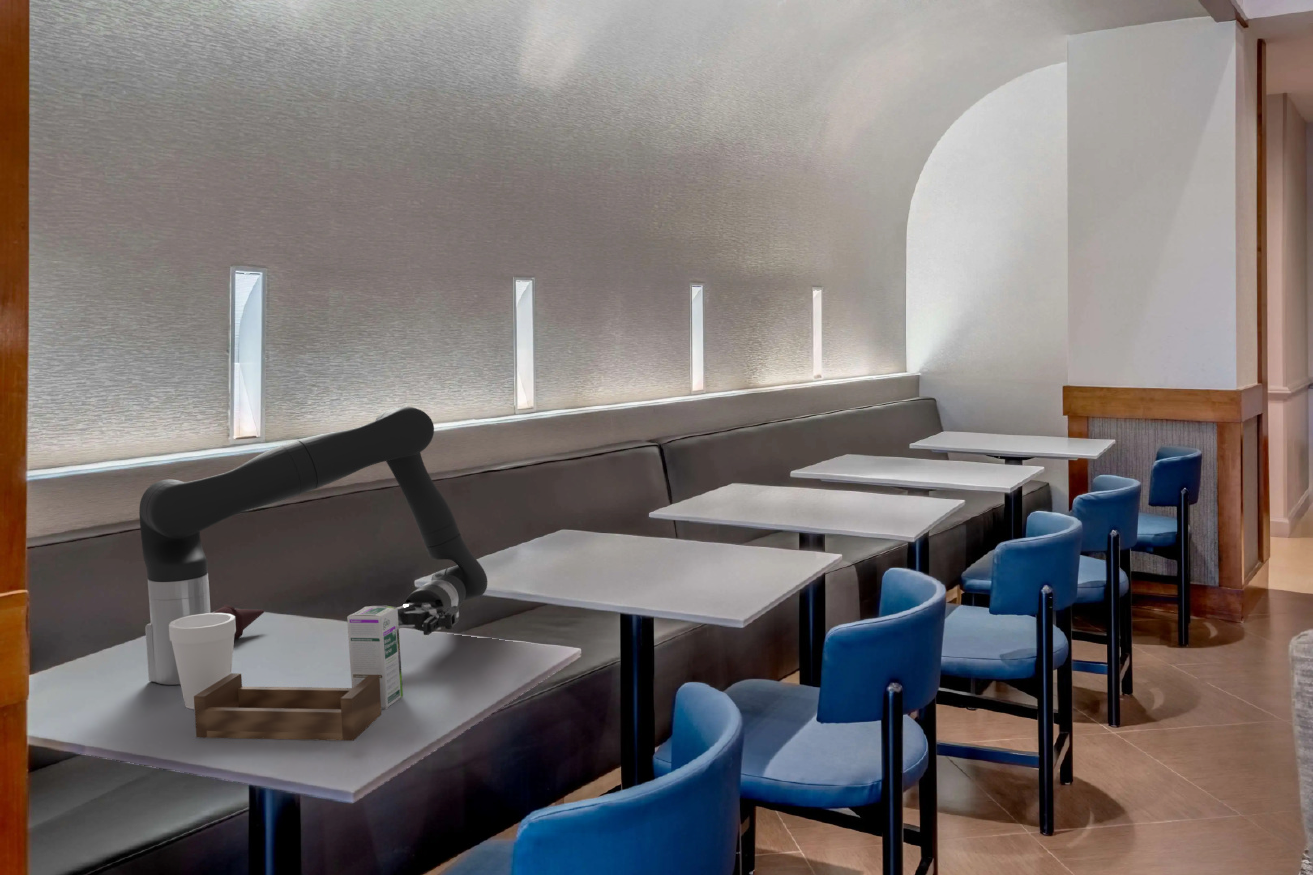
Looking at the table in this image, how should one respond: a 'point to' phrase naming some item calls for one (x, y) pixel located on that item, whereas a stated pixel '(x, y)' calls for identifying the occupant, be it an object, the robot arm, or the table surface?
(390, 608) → the syrup box
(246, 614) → the icecream
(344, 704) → the wooden crate tray
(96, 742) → the table surface
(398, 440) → the robot arm
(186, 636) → the foam cup
